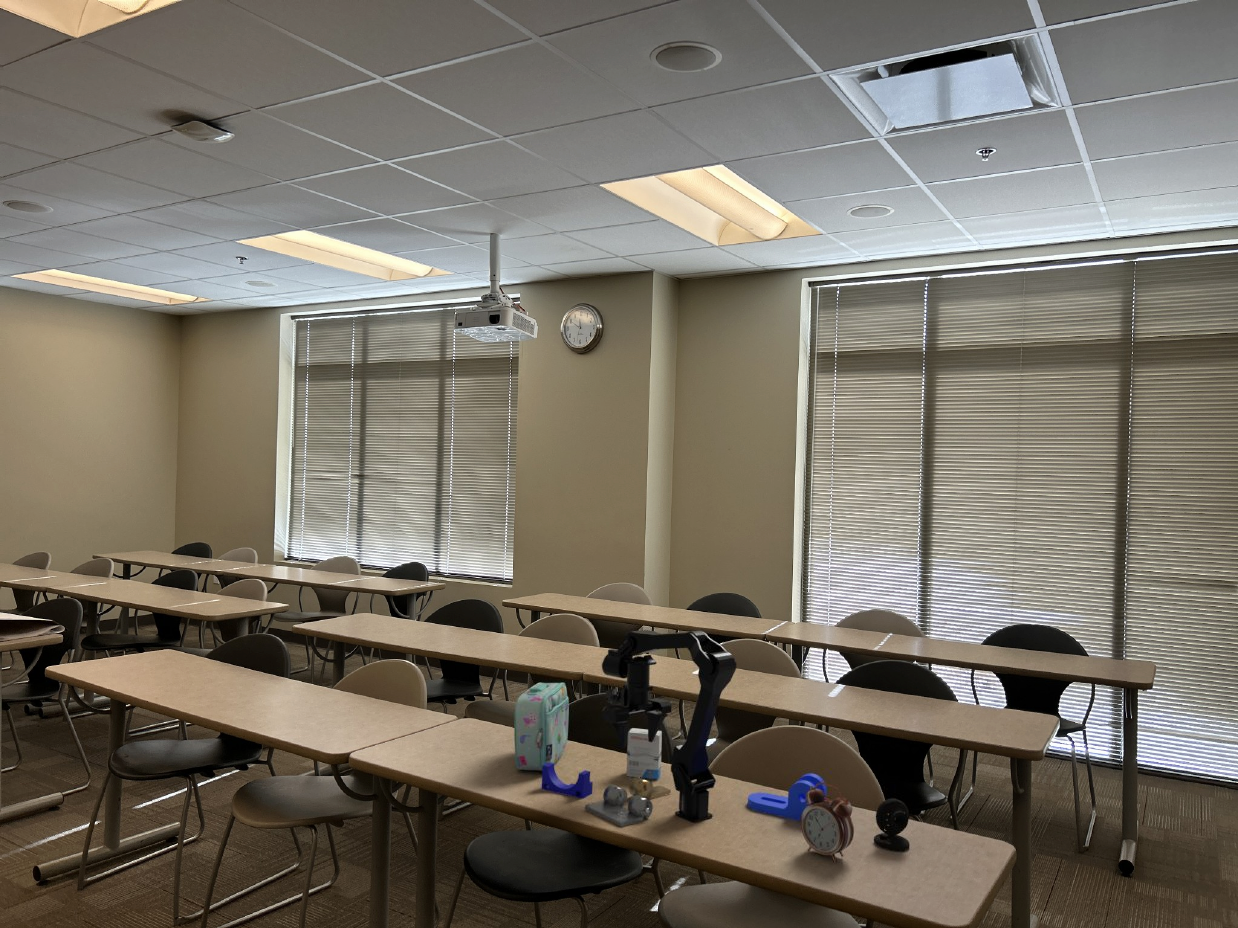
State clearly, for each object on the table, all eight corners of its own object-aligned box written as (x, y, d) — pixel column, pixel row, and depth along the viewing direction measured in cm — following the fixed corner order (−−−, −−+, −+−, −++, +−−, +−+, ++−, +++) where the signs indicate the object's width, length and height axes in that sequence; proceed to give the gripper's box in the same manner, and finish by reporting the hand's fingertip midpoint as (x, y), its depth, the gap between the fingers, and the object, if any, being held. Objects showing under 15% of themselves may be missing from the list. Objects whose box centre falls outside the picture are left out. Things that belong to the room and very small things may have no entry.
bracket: (826, 814, 209) (827, 776, 210) (816, 824, 202) (817, 785, 202) (754, 798, 218) (755, 762, 218) (742, 808, 211) (744, 770, 211)
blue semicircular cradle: (592, 794, 216) (593, 769, 216) (583, 799, 212) (584, 774, 212) (551, 784, 222) (552, 760, 222) (541, 789, 218) (542, 765, 218)
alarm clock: (797, 850, 186) (800, 779, 187) (810, 844, 190) (813, 774, 190) (843, 867, 179) (845, 793, 179) (855, 861, 182) (857, 788, 182)
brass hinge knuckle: (670, 793, 218) (671, 775, 218) (639, 802, 211) (640, 783, 212) (659, 789, 221) (660, 771, 221) (628, 797, 214) (629, 778, 215)
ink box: (661, 774, 233) (663, 730, 233) (657, 780, 228) (659, 735, 228) (629, 770, 235) (631, 726, 235) (625, 776, 230) (627, 731, 230)
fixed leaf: (655, 818, 201) (656, 798, 201) (623, 827, 194) (624, 807, 194) (614, 800, 212) (615, 781, 212) (583, 808, 205) (583, 789, 205)
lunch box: (547, 779, 225) (551, 695, 226) (509, 775, 226) (513, 692, 227) (569, 750, 251) (573, 675, 252) (535, 747, 253) (538, 672, 254)
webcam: (885, 853, 187) (887, 805, 187) (866, 839, 194) (868, 793, 194) (917, 850, 189) (918, 803, 189) (896, 837, 196) (898, 792, 197)
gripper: (643, 672, 230) (642, 732, 230) (588, 680, 218) (587, 743, 217) (673, 679, 222) (672, 741, 221) (617, 687, 210) (616, 753, 209)
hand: (636, 744), depth 217 cm, fingers open, 9 cm apart
